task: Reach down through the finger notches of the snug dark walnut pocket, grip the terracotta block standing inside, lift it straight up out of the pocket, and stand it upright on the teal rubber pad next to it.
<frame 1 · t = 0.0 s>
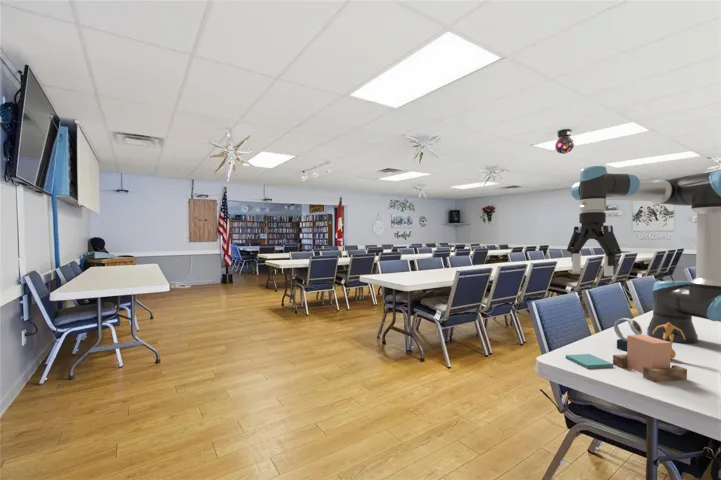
hand: (591, 273, 117), 28 cm above the table, tool pointing down, fingers open, 13 cm apart
watch: (627, 349, 123), on the table
terracotta block: (647, 371, 102), on the table
teal pad: (588, 362, 110), on the table
walnut pocket: (647, 371, 102), on the table
figurine: (667, 358, 114), on the table
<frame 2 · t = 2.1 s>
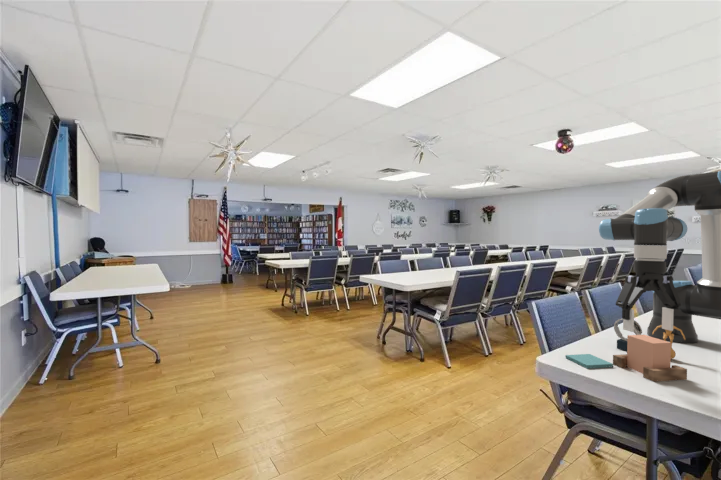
hand: (647, 330, 102), 13 cm above the table, tool pointing down, fingers open, 13 cm apart
nothing on the table moved.
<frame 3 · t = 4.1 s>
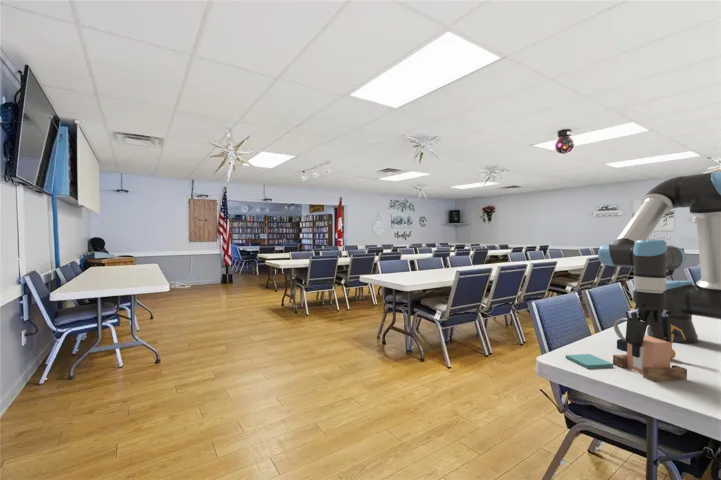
hand: (647, 366, 102), 1 cm above the table, tool pointing down, fingers closed on terracotta block, 6 cm apart
terracotta block: (647, 371, 102), on the table, touching gripper
everything else where it was.
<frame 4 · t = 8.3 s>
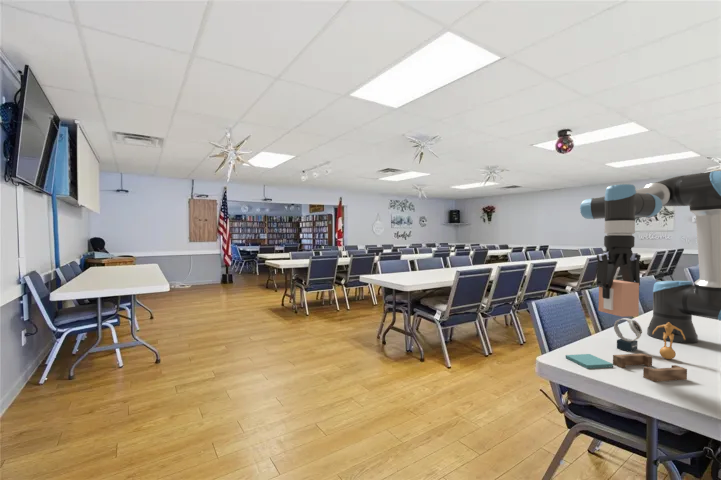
hand: (617, 308, 106), 18 cm above the table, tool pointing down, fingers closed on terracotta block, 6 cm apart
terracotta block: (617, 313, 106), point 17 cm above the table, touching gripper
everything else where it was.
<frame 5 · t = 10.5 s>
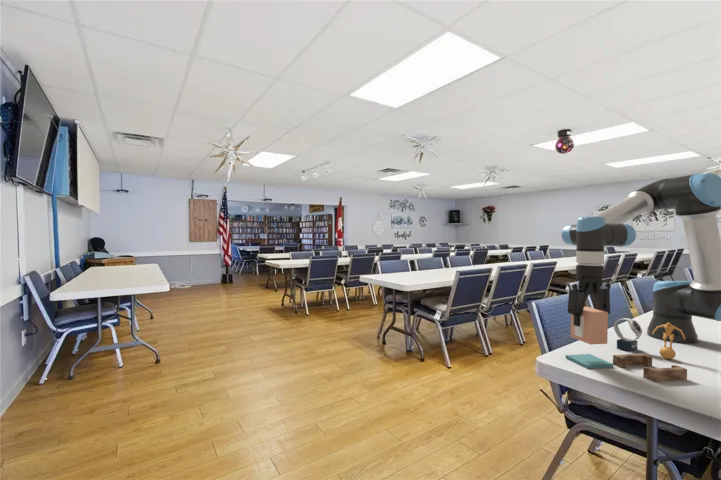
hand: (588, 335, 109), 9 cm above the table, tool pointing down, fingers closed on terracotta block, 6 cm apart
terracotta block: (588, 340, 109), point 7 cm above the table, touching gripper
everything else where it was.
when the fingers open (3 cm above the table, at t = 12.3 s): terracotta block stays where it is, resting on teal pad.
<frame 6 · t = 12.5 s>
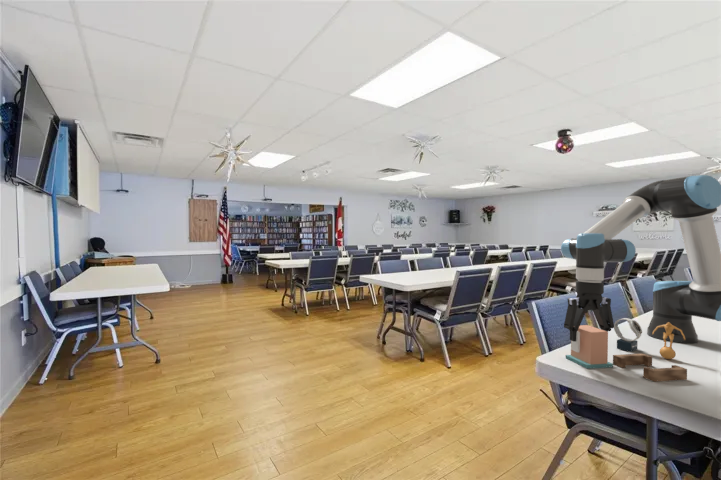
hand: (588, 350, 110), 4 cm above the table, tool pointing down, fingers open, 9 cm apart
terracotta block: (588, 359, 110), point 1 cm above the table, touching teal pad
everything else where it was.
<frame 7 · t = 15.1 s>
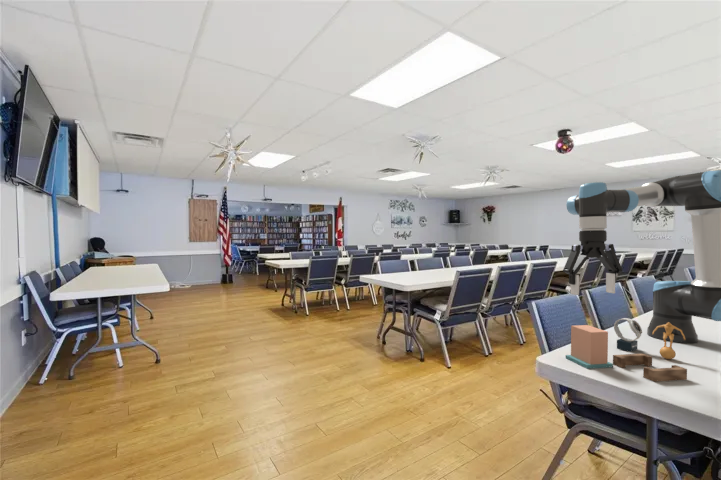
hand: (592, 293, 113), 22 cm above the table, tool pointing down, fingers open, 13 cm apart
nothing on the table moved.
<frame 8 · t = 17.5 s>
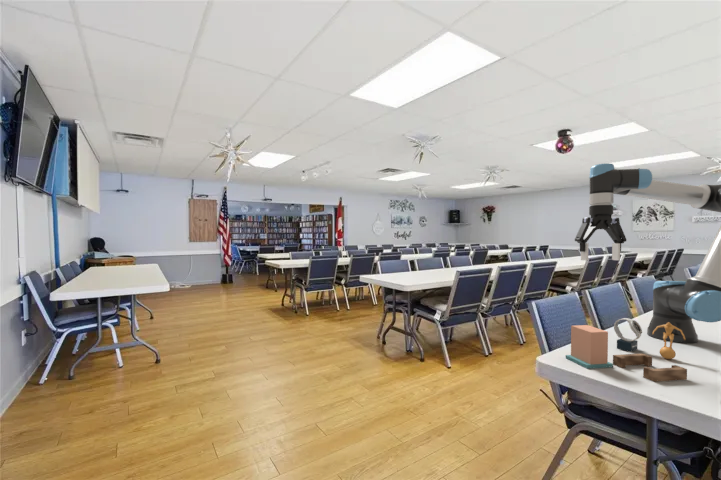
hand: (600, 260, 130), 32 cm above the table, tool pointing down, fingers open, 13 cm apart
nothing on the table moved.
at the end: terracotta block 0.0 cm off-centre on the teal pad, point 1.0 cm above the teal pad's base; terracotta block tilted 0°; the gripper is holding nothing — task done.
